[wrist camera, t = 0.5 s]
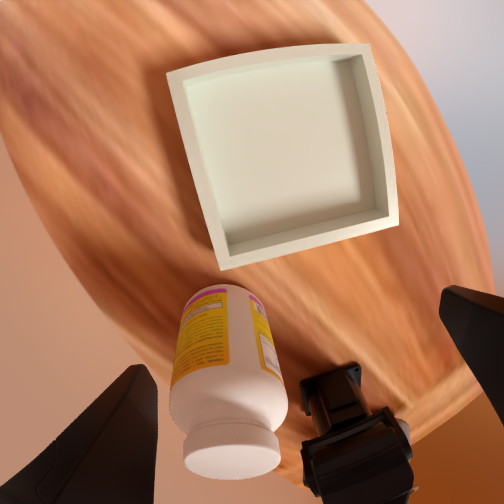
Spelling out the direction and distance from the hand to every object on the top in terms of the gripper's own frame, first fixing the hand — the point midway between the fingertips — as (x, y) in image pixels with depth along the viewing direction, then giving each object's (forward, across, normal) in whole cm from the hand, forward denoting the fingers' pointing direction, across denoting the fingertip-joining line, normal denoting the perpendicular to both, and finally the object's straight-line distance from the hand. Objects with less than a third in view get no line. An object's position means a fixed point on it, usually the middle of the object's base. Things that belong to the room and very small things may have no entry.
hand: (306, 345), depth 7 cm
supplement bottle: (+14, +4, +7) cm, 16 cm away
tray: (+13, -3, -4) cm, 14 cm away
